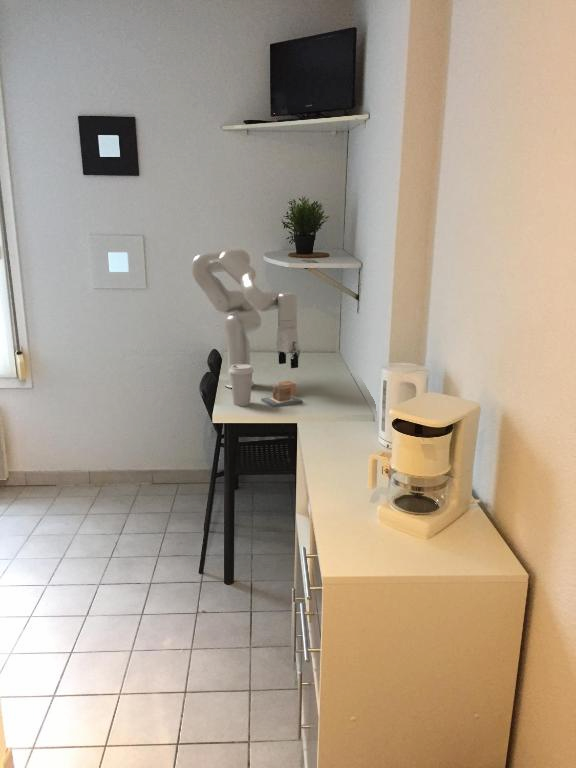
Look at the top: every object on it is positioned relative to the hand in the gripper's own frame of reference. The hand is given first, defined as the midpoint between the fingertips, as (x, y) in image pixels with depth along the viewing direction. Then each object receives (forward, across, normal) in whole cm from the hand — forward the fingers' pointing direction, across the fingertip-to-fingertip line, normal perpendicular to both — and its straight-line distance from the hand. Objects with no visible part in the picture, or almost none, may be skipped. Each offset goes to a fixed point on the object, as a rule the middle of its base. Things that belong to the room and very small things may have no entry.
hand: (288, 365), depth 264 cm
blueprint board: (+12, +7, -7) cm, 16 cm away
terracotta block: (+12, -1, 0) cm, 12 cm away
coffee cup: (+12, +2, -22) cm, 26 cm away
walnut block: (+11, +7, -8) cm, 15 cm away
